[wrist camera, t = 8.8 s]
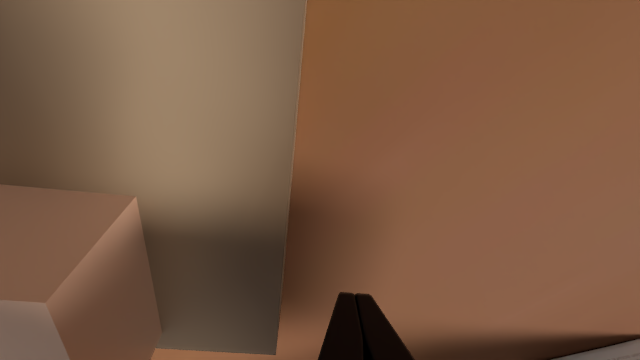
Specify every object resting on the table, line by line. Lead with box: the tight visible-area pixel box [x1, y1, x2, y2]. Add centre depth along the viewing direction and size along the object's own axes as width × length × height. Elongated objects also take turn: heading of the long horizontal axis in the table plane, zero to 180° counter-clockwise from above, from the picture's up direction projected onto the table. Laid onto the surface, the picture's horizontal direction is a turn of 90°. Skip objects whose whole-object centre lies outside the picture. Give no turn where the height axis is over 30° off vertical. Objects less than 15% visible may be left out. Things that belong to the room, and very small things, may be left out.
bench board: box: [0, 0, 307, 355], centre depth 8 cm, size 11×14×2 cm
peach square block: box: [0, 184, 162, 360], centre depth 7 cm, size 5×5×3 cm
